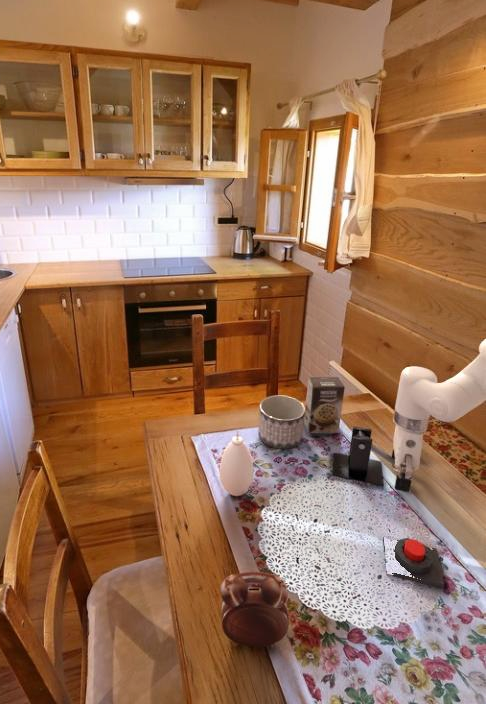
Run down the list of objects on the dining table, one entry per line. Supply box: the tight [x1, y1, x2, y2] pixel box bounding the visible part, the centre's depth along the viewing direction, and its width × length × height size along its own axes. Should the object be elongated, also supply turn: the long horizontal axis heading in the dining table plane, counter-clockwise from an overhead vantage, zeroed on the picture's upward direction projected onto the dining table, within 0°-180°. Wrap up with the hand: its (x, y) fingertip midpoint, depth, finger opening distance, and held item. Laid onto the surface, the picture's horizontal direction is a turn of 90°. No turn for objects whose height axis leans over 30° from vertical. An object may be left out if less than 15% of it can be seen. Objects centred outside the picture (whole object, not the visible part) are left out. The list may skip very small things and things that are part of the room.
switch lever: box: [355, 431, 405, 473], centre depth 101 cm, size 14×3×3 cm, turn 73°
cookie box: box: [304, 376, 346, 434], centre depth 119 cm, size 9×6×16 cm
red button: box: [404, 539, 425, 562], centre depth 79 cm, size 4×4×2 cm
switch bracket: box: [331, 426, 384, 487], centre depth 103 cm, size 12×9×12 cm
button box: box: [382, 537, 445, 590], centre depth 80 cm, size 10×8×3 cm
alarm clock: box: [220, 571, 289, 648], centre depth 65 cm, size 11×5×15 cm, turn 88°
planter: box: [257, 394, 305, 450], centre depth 116 cm, size 13×13×10 cm
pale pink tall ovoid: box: [219, 429, 255, 497], centre depth 95 cm, size 8×8×18 cm
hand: (399, 476), depth 101 cm, fingers open, 9 cm apart
